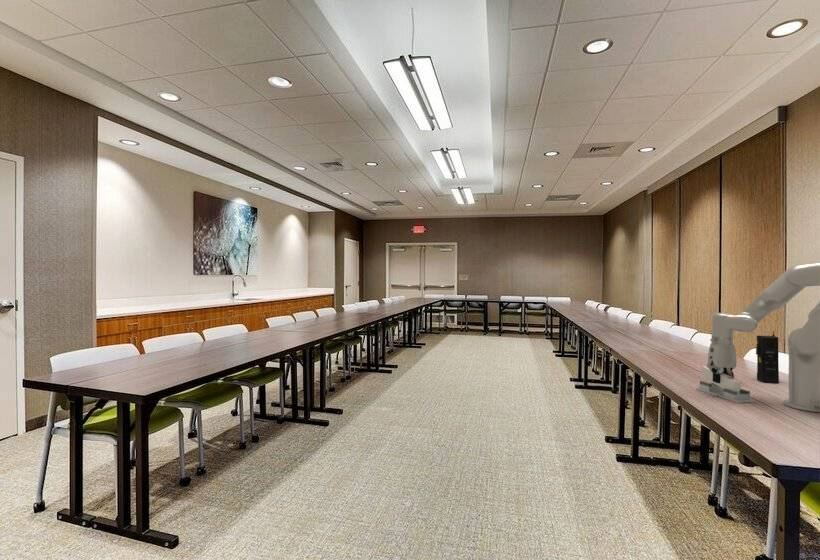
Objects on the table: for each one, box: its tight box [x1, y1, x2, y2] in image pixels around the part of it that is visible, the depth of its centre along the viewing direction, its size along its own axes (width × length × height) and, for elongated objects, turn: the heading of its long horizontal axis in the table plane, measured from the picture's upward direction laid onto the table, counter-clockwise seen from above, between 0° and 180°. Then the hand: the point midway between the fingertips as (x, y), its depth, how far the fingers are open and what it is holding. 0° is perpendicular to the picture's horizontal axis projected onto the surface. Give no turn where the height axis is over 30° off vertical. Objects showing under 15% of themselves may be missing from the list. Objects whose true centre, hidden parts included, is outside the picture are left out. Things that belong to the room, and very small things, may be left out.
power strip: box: [699, 365, 743, 393], centre depth 173 cm, size 16×4×5 cm, turn 9°
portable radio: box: [755, 330, 780, 384], centre depth 194 cm, size 8×6×25 cm
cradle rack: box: [695, 380, 755, 404], centre depth 172 cm, size 20×8×4 cm, turn 7°
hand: (720, 381), depth 173 cm, fingers closed on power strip, 3 cm apart
